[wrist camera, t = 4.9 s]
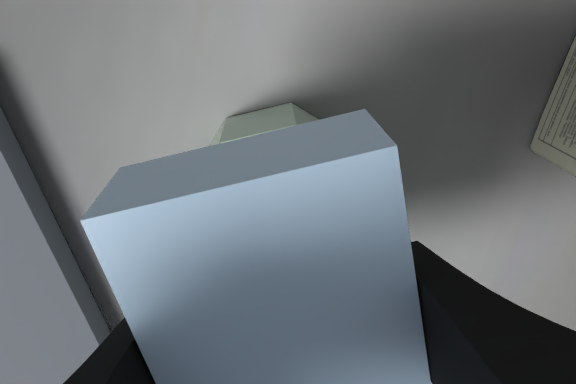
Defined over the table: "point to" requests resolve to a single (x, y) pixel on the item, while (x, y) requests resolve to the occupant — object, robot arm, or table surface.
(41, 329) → the mat
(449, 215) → the table surface
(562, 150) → the skincare box
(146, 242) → the block
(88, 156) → the table surface
